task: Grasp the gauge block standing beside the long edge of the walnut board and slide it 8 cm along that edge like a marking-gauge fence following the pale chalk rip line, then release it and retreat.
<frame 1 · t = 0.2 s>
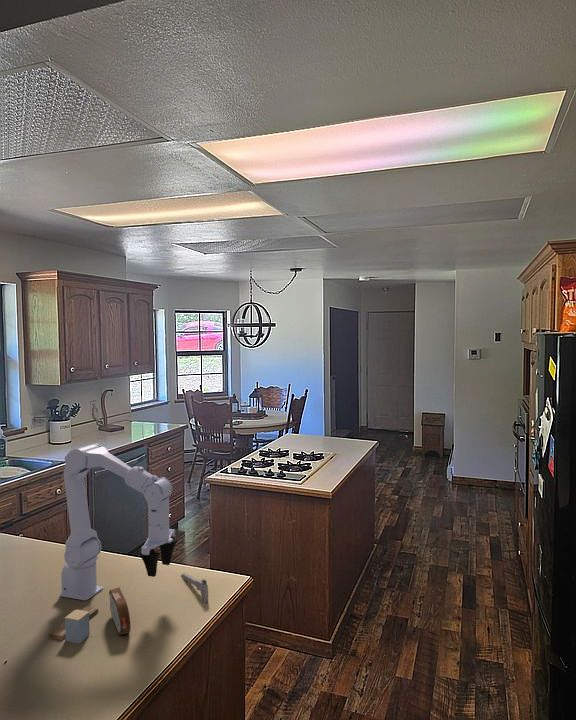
hand: (159, 570, 147), 10 cm above the counter, tool pointing down, fingers open, 7 cm apart
board: (74, 624, 137), on the counter
caliper: (193, 589, 157), on the counter
tin: (119, 626, 136), on the counter
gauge: (77, 637, 131), on the counter
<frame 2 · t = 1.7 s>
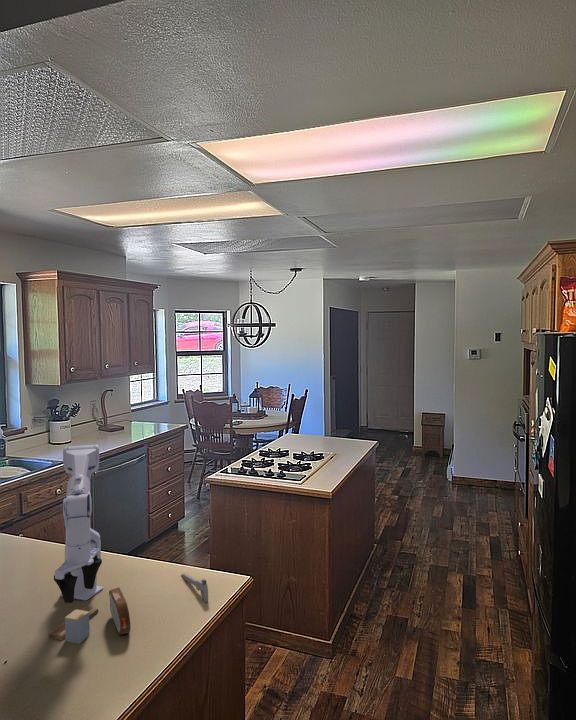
hand: (79, 595, 131), 11 cm above the counter, tool pointing down, fingers open, 7 cm apart
nothing on the counter moved.
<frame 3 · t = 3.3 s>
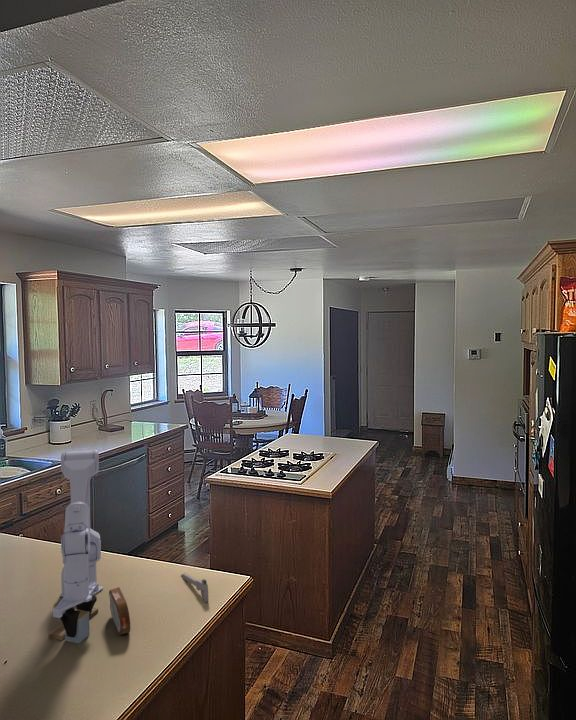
hand: (77, 631, 131), 2 cm above the counter, tool pointing down, fingers closed on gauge, 4 cm apart
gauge: (77, 637, 131), on the counter, touching gripper
everything else where it was.
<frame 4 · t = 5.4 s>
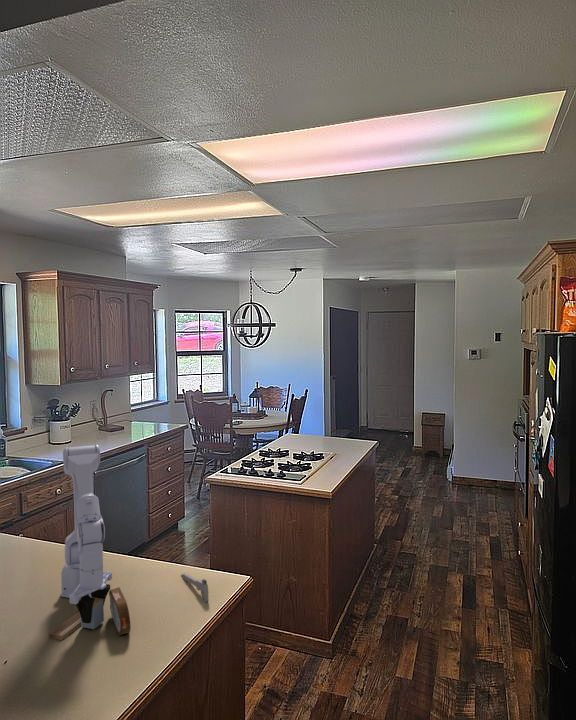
hand: (92, 617, 136), 2 cm above the counter, tool pointing down, fingers closed on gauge, 4 cm apart
tin: (119, 626, 136), on the counter, touching gripper
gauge: (92, 624, 136), on the counter, touching gripper
everything else where it was.
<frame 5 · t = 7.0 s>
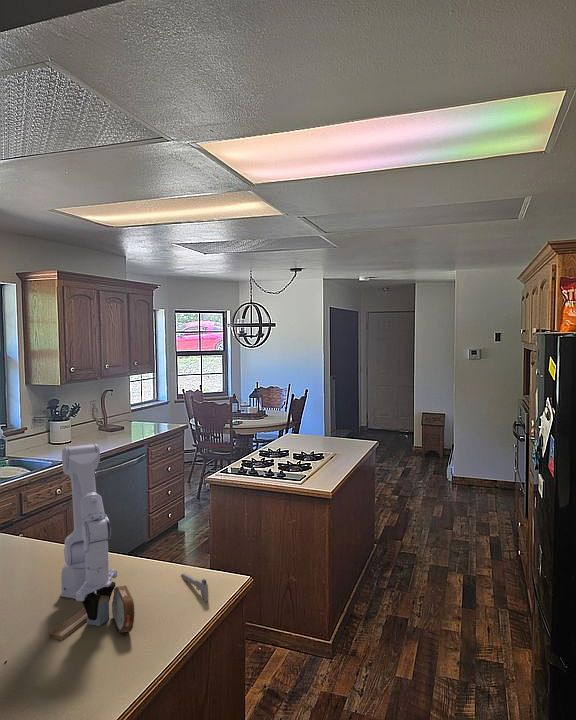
hand: (97, 614, 139), 2 cm above the counter, tool pointing down, fingers closed on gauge, 4 cm apart
tin: (119, 625, 136), on the counter
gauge: (98, 621, 139), on the counter, touching gripper
everything else where it was.
when the fingers open (2 cm above the counter, at t = 7.1 s): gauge stays where it is, on the counter.
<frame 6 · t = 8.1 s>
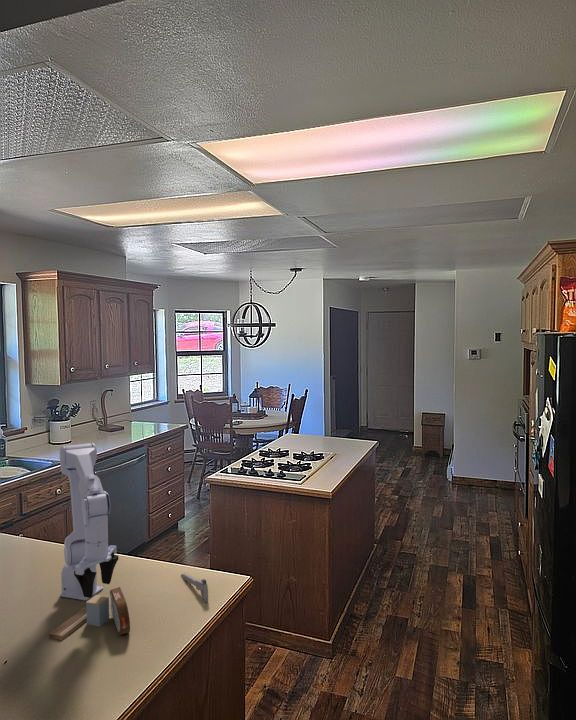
hand: (97, 589, 138), 8 cm above the counter, tool pointing down, fingers open, 7 cm apart
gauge: (98, 621, 139), on the counter
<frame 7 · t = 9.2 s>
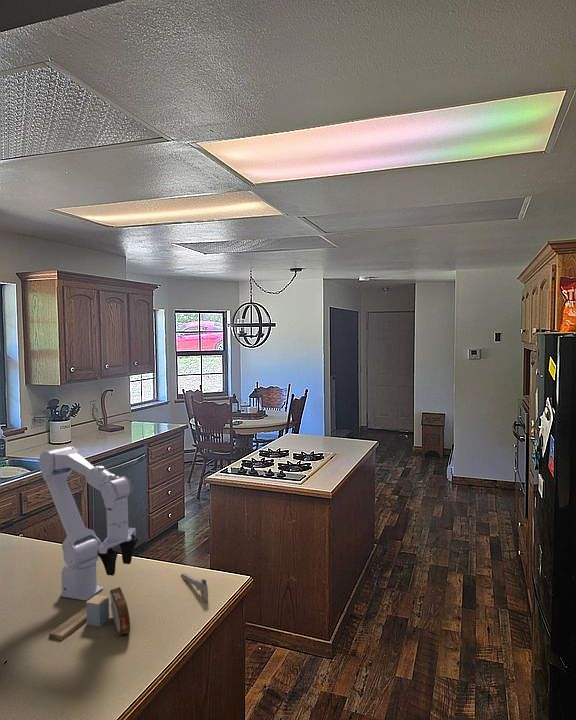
hand: (118, 569, 147), 10 cm above the counter, tool pointing down, fingers open, 7 cm apart
nothing on the counter moved.
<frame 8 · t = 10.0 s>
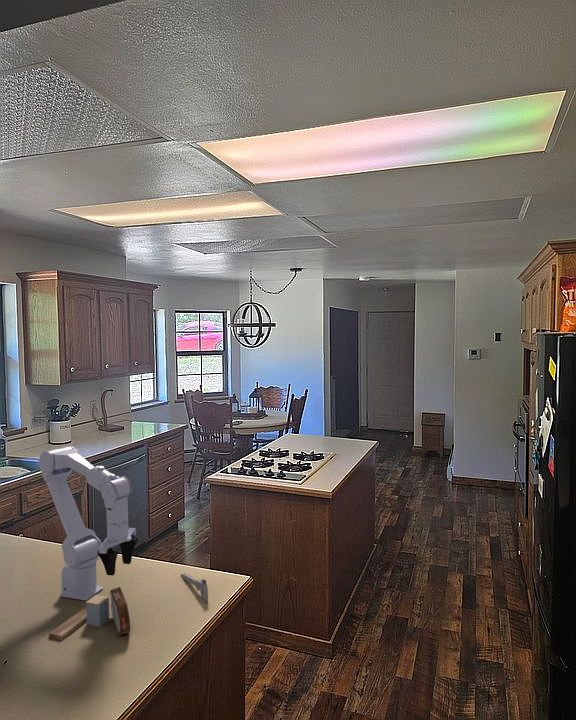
hand: (118, 569, 147), 10 cm above the counter, tool pointing down, fingers open, 7 cm apart
nothing on the counter moved.
at the end: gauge 0.2 cm from the target spot, on the counter; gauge moved 8.0 cm from its start; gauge tilted 0° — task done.
